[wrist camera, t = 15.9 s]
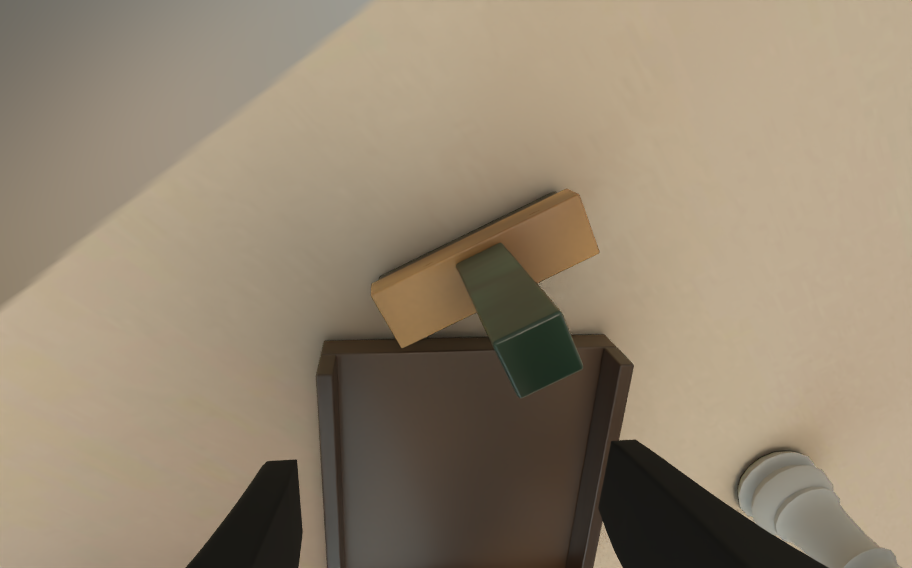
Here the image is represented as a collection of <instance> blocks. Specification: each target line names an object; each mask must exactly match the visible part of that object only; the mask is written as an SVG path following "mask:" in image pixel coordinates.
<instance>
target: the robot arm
mask: <svg viewBox="0 0 912 568" xmlns="http://www.w3.org/2000/svg"><path fill="white" fill-rule="evenodd" d="M598 509H599V512H600V515H601V517H602V520H603V523H604V525H605V528H606V531H607V533H608V536H609V538H610V541H611V543H612V546H613V548H614V551H615V553H616V555H617V557H618V559H619V561H620V563H621V565H622V567H623V568H829V567H827V566H825V565H823V564H822V563H820V562H818V561H816V560H815V559H813V558H811V557H809V556H808V555H806V554H804V553H802V552H801V551H799V550H797V549H795V548H794V547H792V546H790V545H789V544H787V543H785V542H784V541H782V540H780V539H779V538H777V537H776V536H774V535H772V534H771V533H769V532H768V531H766V530H765V529H763V528H762V527H760V526H759V525H757V524H755V523H754V522H752V521H751V520H749V519H748V518H746V517H745V516H743V515H742V514H740V513H739V512H737V511H736V510H734V509H733V508H731V507H730V506H728V505H727V504H725V503H724V502H723V501H721V500H720V499H718V498H717V497H715V496H714V495H713V494H711V493H710V492H708V491H707V490H705V489H704V488H703V487H701V486H700V485H698V484H697V483H696V482H694V481H693V480H692V479H690V478H689V477H687V476H686V475H685V474H683V473H682V472H681V471H679V470H678V469H676V468H675V467H674V466H672V465H671V464H670V463H668V462H667V461H665V460H664V459H663V458H661V457H660V456H658V455H657V454H656V453H654V452H653V451H651V450H650V449H649V448H647V447H646V446H644V445H643V444H641V443H640V442H638V441H637V440H620V441H611V445H610V450H609V455H608V460H607V466H606V471H605V476H604V481H603V486H602V491H601V496H600V501H599V507H598ZM302 533H303V531H302V518H301V505H300V493H299V480H298V467H297V460H281V461H267V462H266V463H265V464H264V465H263V466H262V467H261V469H260V470H259V472H258V473H257V475H256V476H255V478H254V479H253V481H252V482H251V483H250V485H249V486H248V488H247V489H246V491H245V492H244V493H243V495H242V496H241V498H240V499H239V500H238V502H237V503H236V505H235V506H234V507H233V509H232V510H231V511H230V513H229V514H228V515H227V517H226V518H225V519H224V521H223V522H222V523H221V524H220V526H219V527H218V528H217V530H216V531H215V532H214V534H213V535H212V536H211V537H210V539H209V540H208V541H207V543H206V544H205V545H204V546H203V548H202V549H201V550H200V551H199V552H198V554H197V555H196V556H195V557H194V558H193V560H192V561H191V562H190V563H189V564H188V565H187V567H186V568H298V566H299V558H300V550H301V541H302Z"/></svg>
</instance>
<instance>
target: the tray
mask: <svg viewBox="0 0 912 568" xmlns="http://www.w3.org/2000/svg"><path fill="white" fill-rule="evenodd" d="M571 336H572V339H573V341H574V344H575V346H576V349H577V351H578V353H579V356H580V358H581V361H582V363H583V369H582V370H580V371H578V372H576V373H574V374H572V375H570V376H568V377H566V378H564V379H562V380H560V381H557V382H555V383H553V384H551V385H549V386H547V387H545V388H543V389H541V390H539V391H537V392H534V393H532V394H530V395H528V396H526V397H524V398H519V397H518V396H517V395H516V393H515V391H514V389H513V387H512V385H511V383H510V381H509V379H508V377H507V375H506V372H505V370H504V368H503V366H502V364H501V362H500V360H499V358H498V356H497V354H496V352H495V350H494V348H493V346H492V344H491V342H490V340H489V337H470V338H426V339H421V340H419V341H417V342H415V343H413V344H410V345H408V346H406V347H404V348H401V347H400V345H399V343H398V342H397V340H396V339H381V340H336V341H324V343H323V347H322V352H321V357H320V360H319V365H318V369H317V374H316V386H317V403H318V420H319V438H320V455H321V473H322V490H323V508H324V525H325V543H326V560H327V568H593V566H594V561H595V556H596V551H597V546H598V541H599V536H600V531H601V526H602V521H603V520H602V517H601V515H600V512H599V509H598V507H599V501H600V496H601V491H602V486H603V481H604V476H605V471H606V466H607V460H608V455H609V450H610V445H611V441H619V437H620V432H621V427H622V422H623V417H624V412H625V407H626V402H627V397H628V392H629V387H630V382H631V377H632V372H633V367H634V365H633V363H632V362H631V361H630V360H629V359H628V358H627V357H626V356H625V355H624V354H623V353H622V352H621V351H620V350H619V349H618V348H616V346H615V345H614V344H613V343H612V342H611V341H610V340H609V339H608V338H607V337H606V335H571Z"/></svg>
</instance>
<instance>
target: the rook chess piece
mask: <svg viewBox="0 0 912 568" xmlns="http://www.w3.org/2000/svg"><path fill="white" fill-rule="evenodd" d="M738 497H739V503H740V508H741V509H742V510H743V511H744V512H745V513H746V514H747V516H750V517H753V521H754V522H755V523H756V524H757V525H759V526H760V527H762V528H763V529H765V530H766V531H768V532H769V533H771V534H773V535H777V536H779V537H780V538H781V539H782V540H784V541H787V542H791V543H793V544H794V545H796V546H797V547H799V548H800V549H801V550H802V551H804V552H805V553H806V554H807V555H808V556H810V557H811V558H813V559H815V560H816V561H818V562H820V563H822V564H823V565H825V566H827V567H829V568H902V567H900V566H899V565H898V564H897V561H896V556H895V555H894V554H893V552H892V551H891V550H888V549H885V548H881V547H879V546H878V545H877V544H876V543H875V542H874V541H873V540H872V539H870V538H869V537H868V536H867V535H866V534H865V533H864V532H863V531H862V530H861V529H860V528H859V526H858V525H857V524H856V523H855V522H854V521H853V520H852V519H851V518H850V516H849V515H848V514H847V513H846V512H845V511H844V509H843V508H842V506H841V505H840V498H839V497H838V496H837V495H836V493H835V492H833V484H832V483H831V481H830V480H829V478H828V477H827V476H826V474H825V473H824V472H823V471H822V469H819V468H816V467H815V464H814V463H813V462H812V461H811V459H810V458H809V457H808V456H805V455H802V454H800V453H797V452H788V451H784V452H773V453H771V454H768V455H766V456H763V457H761V458H760V459H758V460H757V461H756V462H754V463H753V464H752V465H750V466H749V467H748V469H747V470H746V471H745V473H744V474H743V475H742V477H741V480H740V483H739V486H738Z"/></svg>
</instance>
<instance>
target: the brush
mask: <svg viewBox="0 0 912 568" xmlns="http://www.w3.org/2000/svg"><path fill="white" fill-rule="evenodd" d="M596 254H599V249H598V246H597V243H596V240H595V237H594V235H593V232H592V229H591V226H590V223H589V220H588V217H587V215H586V212H585V209H584V206H583V203H582V200H581V198H580V195H579V194H578V193H576V192H573V191H571V190H569V189H565V190H563V191H560V192H558V193H557V192H552V193H550V194H548V195H546V196H544V197H542V198H540V199H538V200H536V201H533V202H531V203H529V204H527V205H525V206H523V207H521V208H519V209H517V210H515V211H513V212H511V213H509V214H507V215H505V216H503V217H501V218H499V219H497V220H495V221H493V222H490V223H488V224H486V225H484V226H482V227H480V228H478V229H476V230H474V231H472V232H470V233H468V234H466V235H464V236H462V237H460V238H458V239H456V240H454V241H452V242H449V243H447V244H445V245H443V246H441V247H439V248H437V249H435V250H433V251H431V252H429V253H427V254H425V255H423V256H421V257H419V258H417V259H415V260H413V261H411V262H409V263H406V264H404V265H402V266H400V267H398V268H396V269H394V270H392V271H390V272H388V273H386V274H384V275H382V276H380V277H379V280H378V281H376V282H374V283H372V284H371V297H372V299H373V301H374V302H375V304H376V306H377V307H378V309H379V311H380V313H381V314H382V316H383V318H384V319H385V321H386V323H387V324H388V326H389V328H390V330H391V331H392V333H393V335H394V336H395V338H396V340H397V342H398V343H399V345H400V347H401V348H404V347H406V346H408V345H410V344H413V343H415V342H417V341H419V340H421V339H423V338H425V337H427V336H429V335H431V334H433V333H435V332H437V331H439V330H441V329H444V328H446V327H448V326H450V325H452V324H454V323H456V322H458V321H460V320H462V319H464V318H466V317H468V316H470V315H472V314H475V313H477V314H478V316H479V318H480V320H481V322H482V324H483V327H484V329H485V331H486V333H487V335H488V337H489V340H490V342H491V344H492V346H493V348H494V350H495V352H496V354H497V356H498V358H499V360H500V362H501V364H502V366H503V368H504V370H505V372H506V375H507V377H508V379H509V381H510V383H511V385H512V387H513V389H514V391H515V393H516V395H517V396H518V397H519V398H524V397H526V396H528V395H530V394H532V393H534V392H537V391H539V390H541V389H543V388H545V387H547V386H549V385H551V384H553V383H555V382H557V381H560V380H562V379H564V378H566V377H568V376H570V375H572V374H574V373H576V372H578V371H580V370H582V369H583V363H582V361H581V358H580V356H579V353H578V351H577V349H576V346H575V344H574V341H573V339H572V336H571V334H570V331H569V329H568V327H567V324H566V322H565V319H564V317H563V314H562V312H561V311H560V310H559V309H558V307H557V306H556V305H555V304H554V303H553V302H552V300H551V299H550V298H549V297H548V296H547V295H546V293H545V292H544V291H543V290H542V289H541V288H540V286H539V285H538V284H537V283H539V282H541V281H543V280H545V279H547V278H549V277H551V276H553V275H555V274H557V273H559V272H561V271H563V270H565V269H568V268H570V267H572V266H574V265H576V264H578V263H580V262H582V261H584V260H586V259H588V258H590V257H592V256H594V255H596Z"/></svg>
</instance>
